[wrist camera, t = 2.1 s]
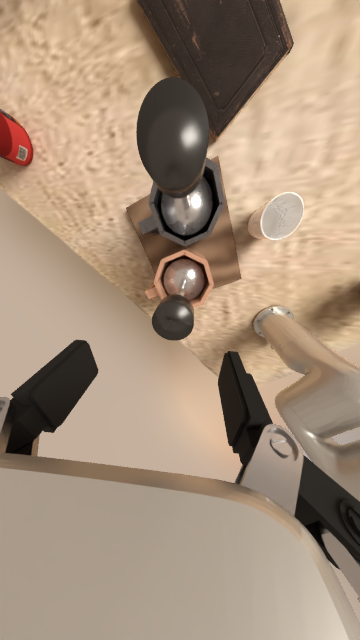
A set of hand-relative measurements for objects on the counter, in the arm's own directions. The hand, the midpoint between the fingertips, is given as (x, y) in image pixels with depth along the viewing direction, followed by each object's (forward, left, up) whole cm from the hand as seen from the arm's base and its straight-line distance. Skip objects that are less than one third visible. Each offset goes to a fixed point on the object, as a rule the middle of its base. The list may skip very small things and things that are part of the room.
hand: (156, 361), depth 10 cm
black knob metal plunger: (0, 0, -25) cm, 25 cm away
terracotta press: (0, +1, -38) cm, 38 cm away
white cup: (+4, -22, -39) cm, 45 cm away
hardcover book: (+36, -18, -40) cm, 57 cm away
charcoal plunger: (+12, -5, -25) cm, 28 cm away
